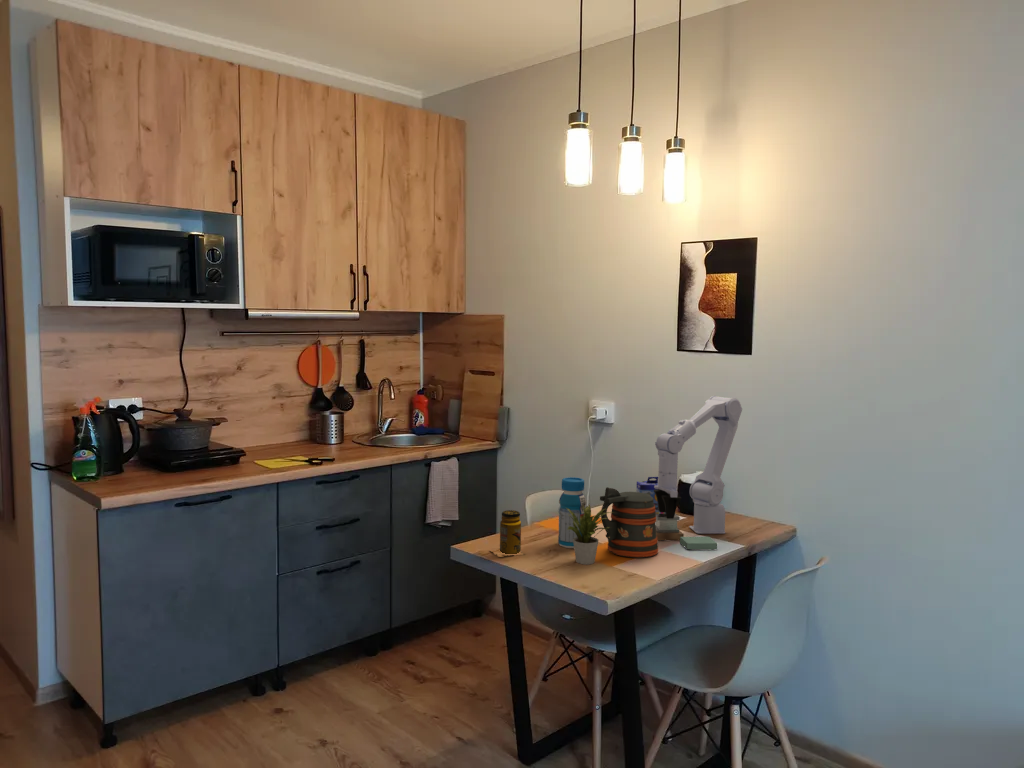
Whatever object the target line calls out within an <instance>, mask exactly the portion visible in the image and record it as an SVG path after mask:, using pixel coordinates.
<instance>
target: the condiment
mask: <svg viewBox="0 0 1024 768" xmlns="http://www.w3.org/2000/svg"><path fill="white" fill-rule="evenodd" d="M500 518H501V520H500V525H499V549H500V551H501V552H502V553H505V554H517V553H519V552H520V551H521V550H522V549H521V548H522V546H521V545H522V541H521V540H522V539H521V538H522V537H521V536H522V534H521V533H522V521H521V513H520V512H519V511H518V510H513V509H510V510H509V509H506V510H503V511H502V512H501V517H500Z"/></svg>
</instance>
